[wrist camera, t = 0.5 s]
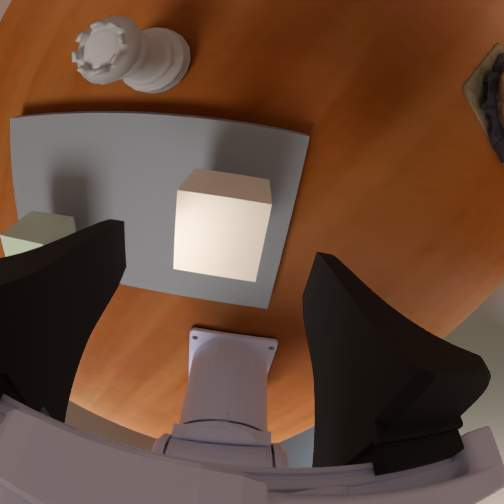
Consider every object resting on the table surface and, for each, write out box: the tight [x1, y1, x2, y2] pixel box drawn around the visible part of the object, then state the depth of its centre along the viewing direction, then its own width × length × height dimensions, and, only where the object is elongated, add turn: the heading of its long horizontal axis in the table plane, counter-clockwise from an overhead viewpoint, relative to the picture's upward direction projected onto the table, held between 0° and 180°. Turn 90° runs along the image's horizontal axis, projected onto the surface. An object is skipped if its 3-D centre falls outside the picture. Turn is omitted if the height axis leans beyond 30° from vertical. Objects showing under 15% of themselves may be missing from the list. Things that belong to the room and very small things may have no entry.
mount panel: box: [10, 111, 310, 309], centre depth 18 cm, size 13×22×4 cm, turn 80°
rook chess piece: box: [72, 16, 191, 94], centre depth 12 cm, size 4×4×8 cm
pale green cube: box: [0, 211, 75, 257], centre depth 16 cm, size 4×4×4 cm
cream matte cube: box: [173, 168, 272, 282], centre depth 15 cm, size 4×4×4 cm
